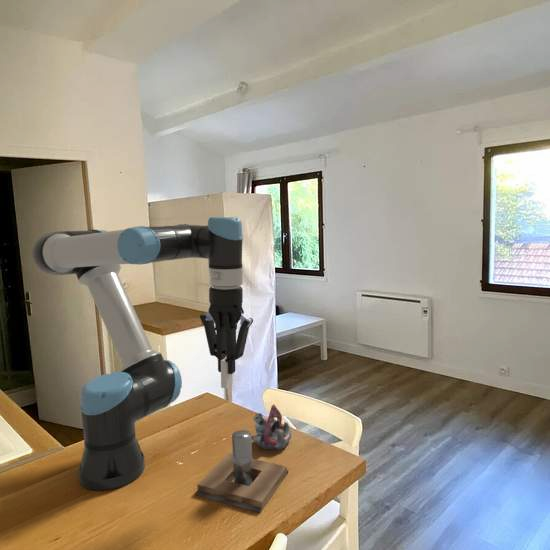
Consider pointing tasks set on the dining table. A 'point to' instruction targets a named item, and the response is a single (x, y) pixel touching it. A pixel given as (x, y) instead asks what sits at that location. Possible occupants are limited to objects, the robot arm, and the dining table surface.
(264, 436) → the red and grey figurine
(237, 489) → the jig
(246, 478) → the steel cylinder rod
